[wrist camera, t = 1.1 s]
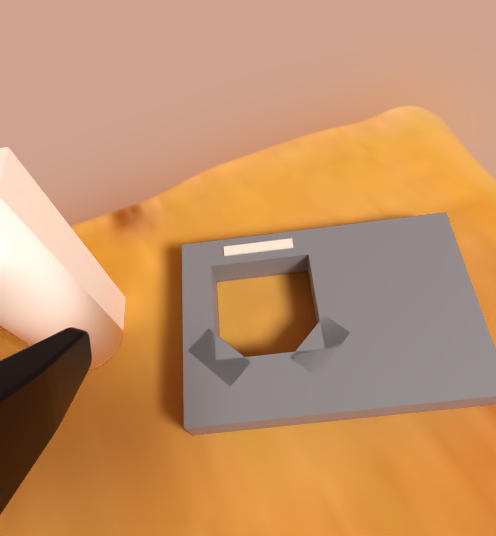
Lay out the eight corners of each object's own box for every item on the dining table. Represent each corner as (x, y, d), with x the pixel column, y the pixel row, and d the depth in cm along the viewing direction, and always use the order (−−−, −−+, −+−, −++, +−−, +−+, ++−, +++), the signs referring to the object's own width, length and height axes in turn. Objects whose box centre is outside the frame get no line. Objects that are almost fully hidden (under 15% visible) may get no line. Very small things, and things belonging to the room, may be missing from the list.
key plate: (495, 404, 23) (512, 393, 21) (192, 435, 24) (183, 427, 22) (436, 231, 28) (446, 211, 26) (188, 261, 29) (181, 243, 27)
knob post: (121, 367, 26) (-17, 248, 15) (46, 375, 26) (-147, 264, 15) (125, 296, 28) (8, 145, 17) (56, 304, 28) (-106, 160, 17)
